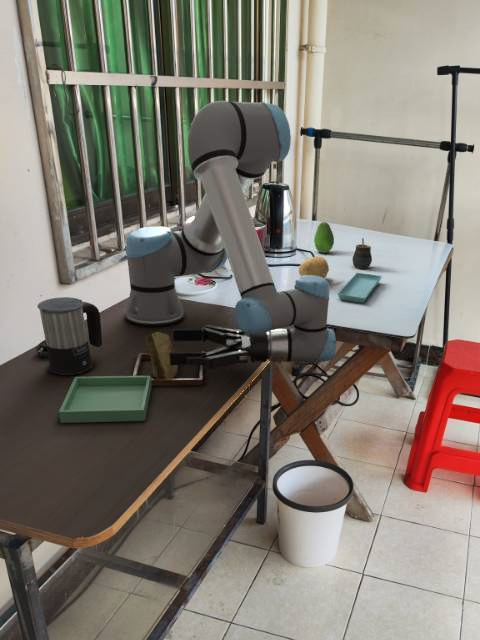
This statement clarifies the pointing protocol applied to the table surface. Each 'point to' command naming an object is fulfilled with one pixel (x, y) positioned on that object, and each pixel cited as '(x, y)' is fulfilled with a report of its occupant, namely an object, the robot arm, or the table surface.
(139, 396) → the green tray
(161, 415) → the table surface
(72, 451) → the table surface
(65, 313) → the milk frother
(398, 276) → the table surface
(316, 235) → the avocado
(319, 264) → the potato
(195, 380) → the wooden frame
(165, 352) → the rock
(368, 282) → the rectangular tray
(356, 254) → the mate gourd
